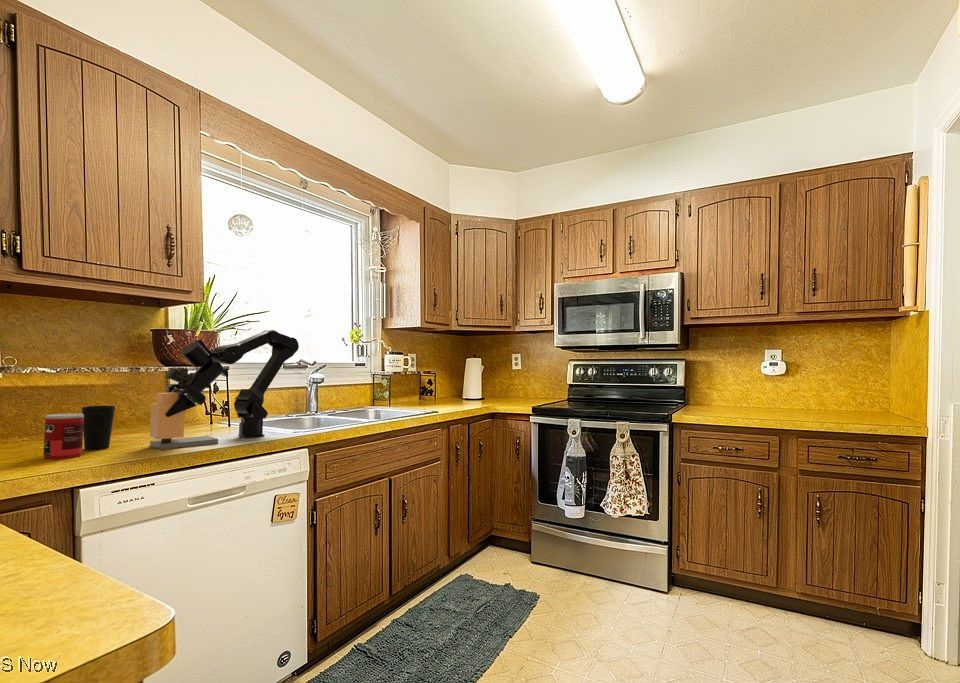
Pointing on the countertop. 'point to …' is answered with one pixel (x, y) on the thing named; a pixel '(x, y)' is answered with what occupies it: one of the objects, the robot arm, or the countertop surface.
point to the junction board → (183, 442)
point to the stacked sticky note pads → (166, 418)
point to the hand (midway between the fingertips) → (162, 414)
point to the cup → (97, 426)
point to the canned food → (63, 435)
